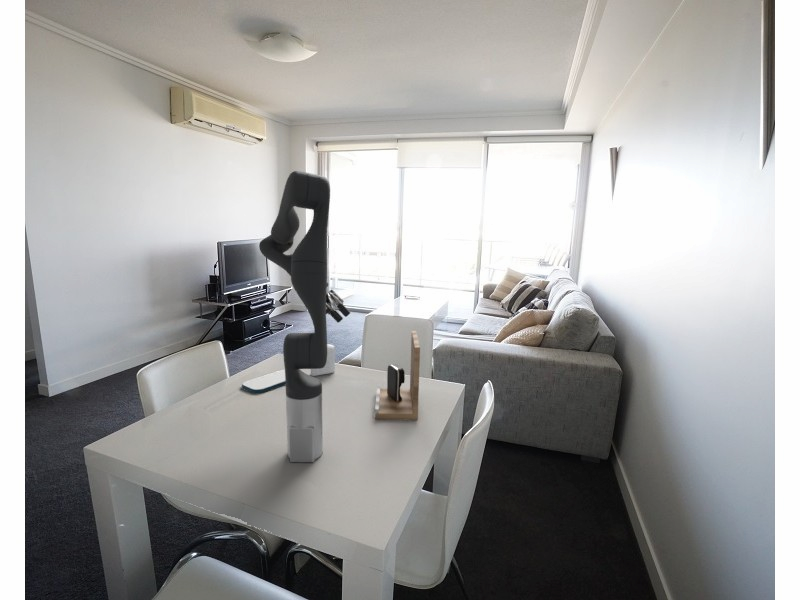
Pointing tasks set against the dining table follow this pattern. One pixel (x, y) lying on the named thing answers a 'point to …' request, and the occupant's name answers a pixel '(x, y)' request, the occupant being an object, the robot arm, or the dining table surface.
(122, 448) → the dining table surface
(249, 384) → the external hard drive
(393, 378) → the battery charger
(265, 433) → the dining table surface
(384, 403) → the shelf
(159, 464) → the dining table surface
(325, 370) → the photo printer
